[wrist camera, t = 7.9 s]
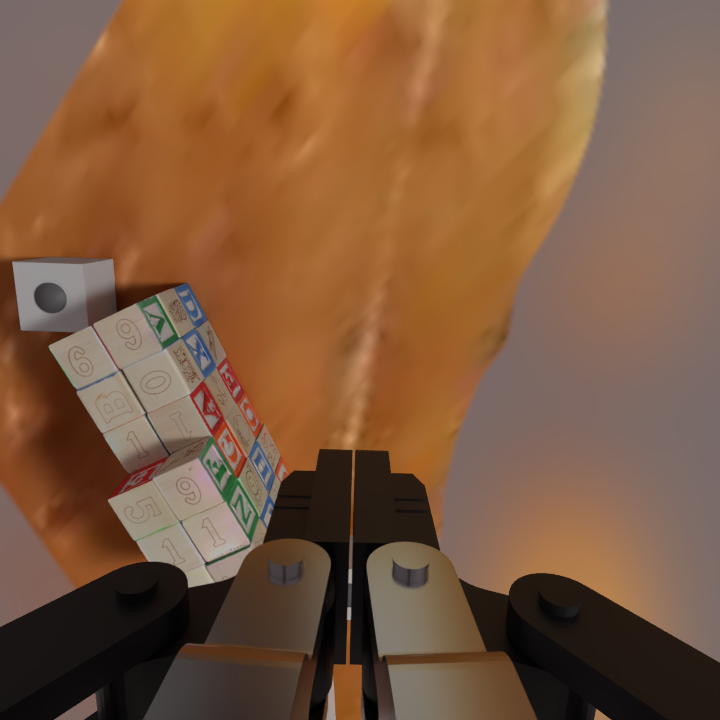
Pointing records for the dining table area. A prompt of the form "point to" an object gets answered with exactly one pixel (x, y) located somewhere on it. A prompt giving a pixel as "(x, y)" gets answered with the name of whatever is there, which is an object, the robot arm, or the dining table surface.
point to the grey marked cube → (64, 293)
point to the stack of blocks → (177, 434)
